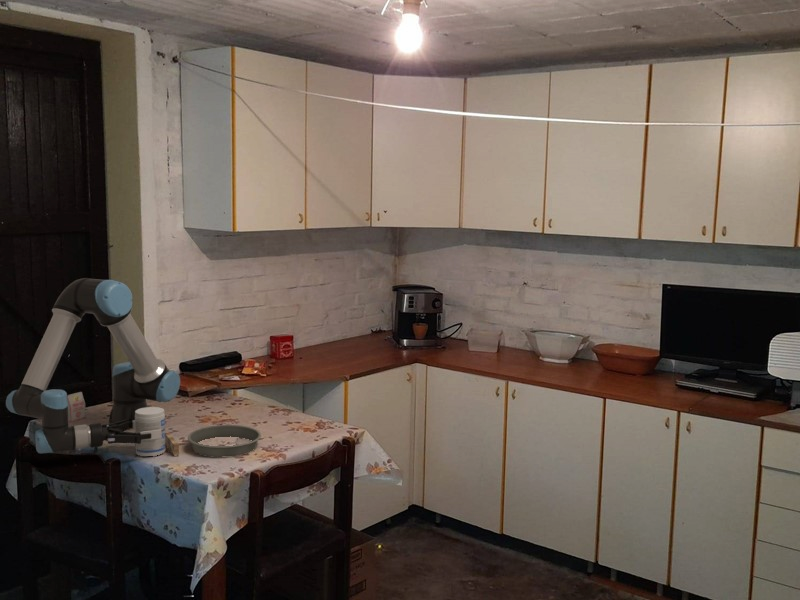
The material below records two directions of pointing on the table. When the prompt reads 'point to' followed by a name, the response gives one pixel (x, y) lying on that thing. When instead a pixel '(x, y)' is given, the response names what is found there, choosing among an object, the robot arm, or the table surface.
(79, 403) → the gable top carton
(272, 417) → the table surface
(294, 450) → the table surface
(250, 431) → the cake pan
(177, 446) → the stop rail
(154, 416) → the supplement tub
